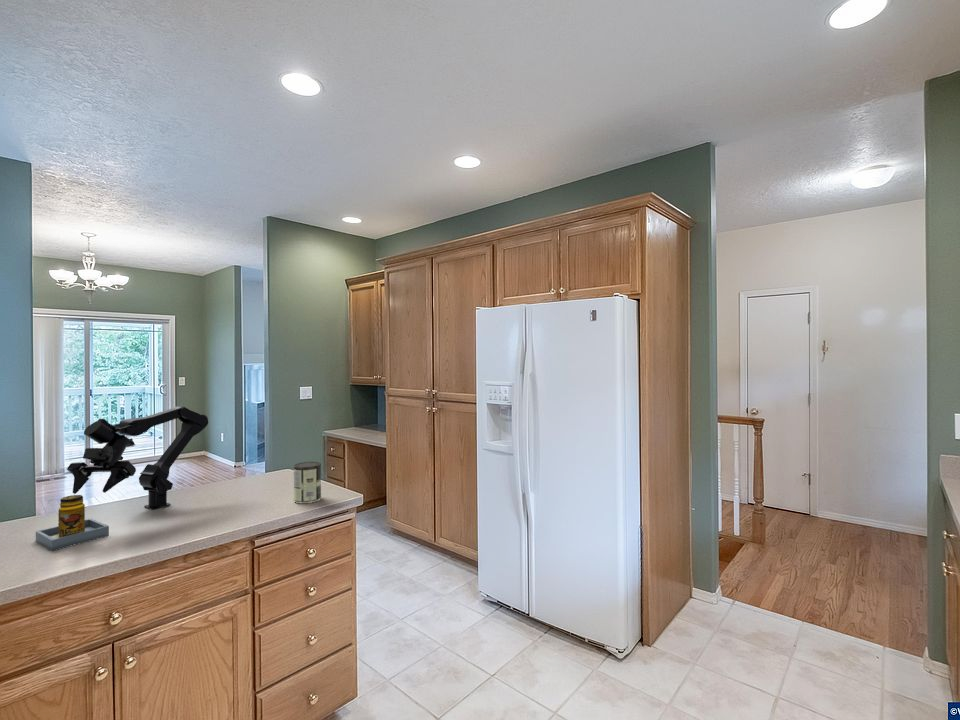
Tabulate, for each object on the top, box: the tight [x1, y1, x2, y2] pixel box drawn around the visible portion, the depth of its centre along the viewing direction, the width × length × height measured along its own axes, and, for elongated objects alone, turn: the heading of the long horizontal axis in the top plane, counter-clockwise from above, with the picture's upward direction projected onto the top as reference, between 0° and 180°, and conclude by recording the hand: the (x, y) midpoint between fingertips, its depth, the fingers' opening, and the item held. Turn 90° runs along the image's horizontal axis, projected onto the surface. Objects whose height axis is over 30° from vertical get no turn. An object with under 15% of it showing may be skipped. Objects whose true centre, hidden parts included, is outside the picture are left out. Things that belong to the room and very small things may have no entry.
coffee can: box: [292, 461, 322, 504], centre depth 182 cm, size 10×10×14 cm
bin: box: [35, 518, 110, 552], centre depth 142 cm, size 14×14×3 cm
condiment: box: [51, 494, 86, 539], centre depth 142 cm, size 7×8×12 cm
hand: (88, 492), depth 148 cm, fingers open, 9 cm apart
